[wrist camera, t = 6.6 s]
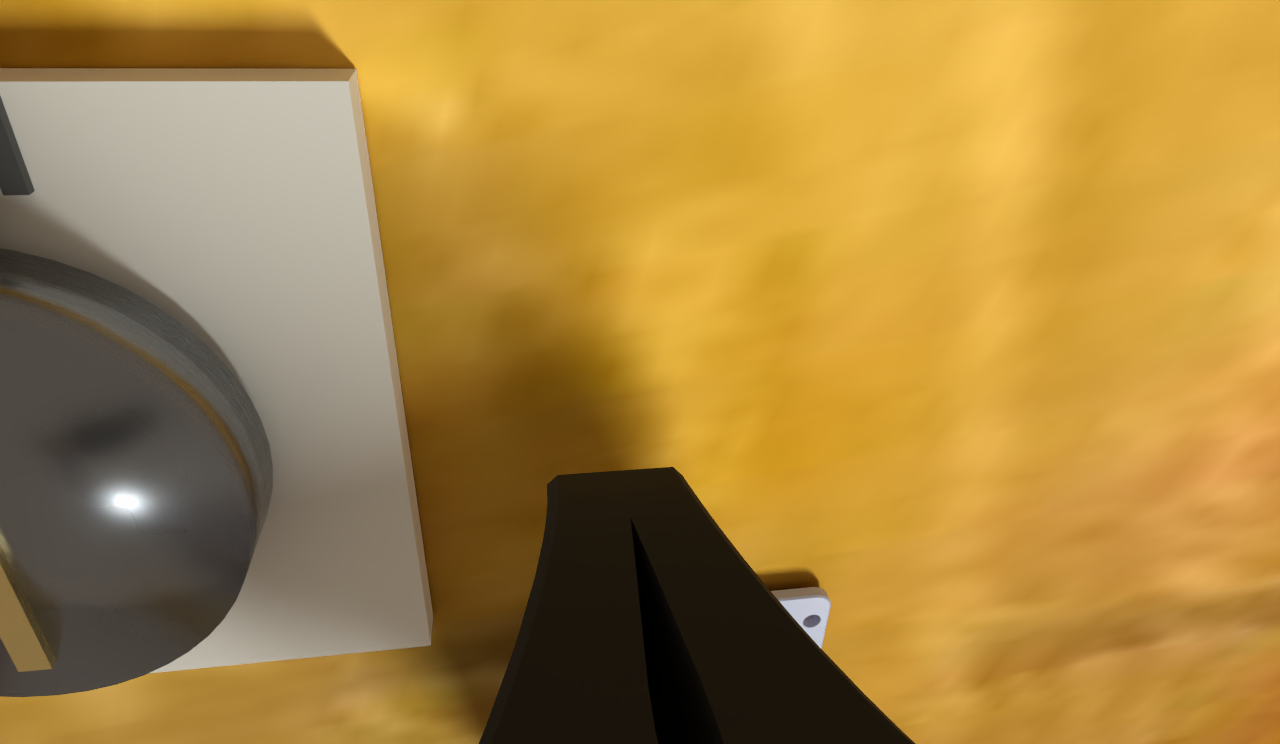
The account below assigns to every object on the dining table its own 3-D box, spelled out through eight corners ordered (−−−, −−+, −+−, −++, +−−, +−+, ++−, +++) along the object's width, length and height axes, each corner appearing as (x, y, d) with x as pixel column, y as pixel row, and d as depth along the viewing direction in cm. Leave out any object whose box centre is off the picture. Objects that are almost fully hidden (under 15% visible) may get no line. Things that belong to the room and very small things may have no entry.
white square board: (433, 615, 22) (430, 651, 21) (-159, 670, 20) (-193, 713, 19) (356, 68, 15) (346, 83, 14) (-588, 67, 13) (-681, 85, 12)
